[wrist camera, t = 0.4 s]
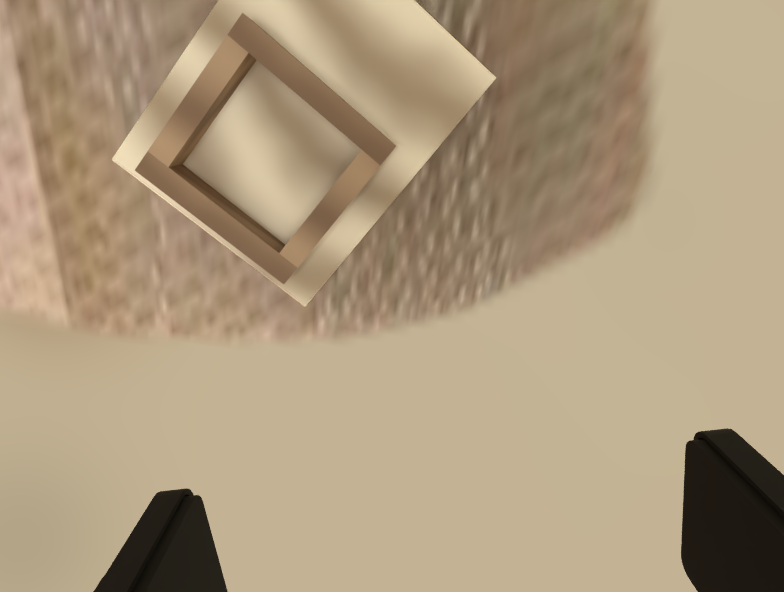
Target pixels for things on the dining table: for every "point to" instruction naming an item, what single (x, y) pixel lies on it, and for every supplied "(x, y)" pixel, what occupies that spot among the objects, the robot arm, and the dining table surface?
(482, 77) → the socket stand
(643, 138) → the dining table surface
